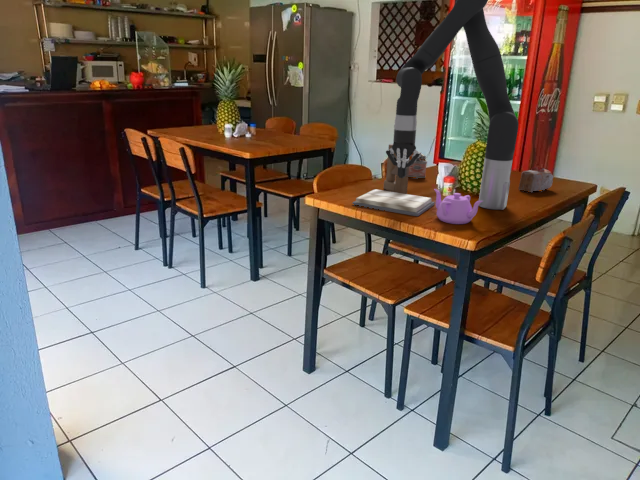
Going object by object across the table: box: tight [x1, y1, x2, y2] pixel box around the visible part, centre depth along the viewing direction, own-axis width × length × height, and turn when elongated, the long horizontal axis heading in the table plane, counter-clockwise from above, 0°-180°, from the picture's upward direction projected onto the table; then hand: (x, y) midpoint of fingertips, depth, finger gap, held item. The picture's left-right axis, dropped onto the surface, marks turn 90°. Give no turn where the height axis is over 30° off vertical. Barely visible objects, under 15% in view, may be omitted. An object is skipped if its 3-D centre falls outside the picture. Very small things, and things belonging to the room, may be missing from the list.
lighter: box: [408, 155, 428, 179], centre depth 221 cm, size 8×3×10 cm, turn 81°
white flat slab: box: [355, 193, 424, 212], centre depth 173 cm, size 22×8×2 cm, turn 61°
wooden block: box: [383, 143, 411, 194], centre depth 193 cm, size 4×11×18 cm, turn 29°
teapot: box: [433, 188, 483, 225], centre depth 161 cm, size 12×14×9 cm
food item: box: [518, 166, 554, 193], centre depth 205 cm, size 14×8×10 cm, turn 125°
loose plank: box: [365, 188, 433, 207], centre depth 180 cm, size 22×8×2 cm, turn 61°
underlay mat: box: [352, 200, 436, 217], centre depth 177 cm, size 24×18×1 cm
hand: (401, 177), depth 178 cm, fingers closed
